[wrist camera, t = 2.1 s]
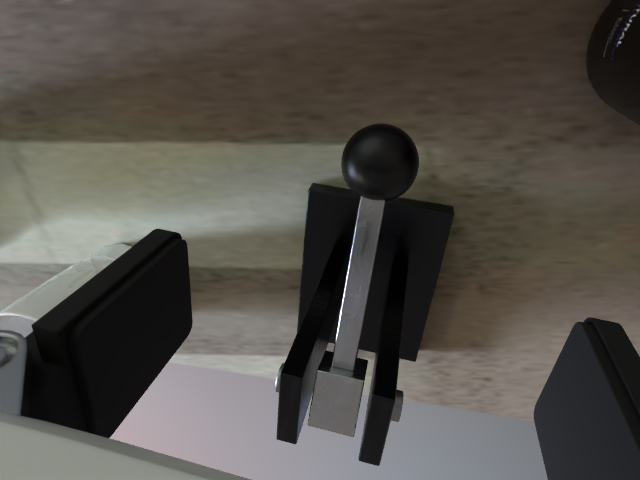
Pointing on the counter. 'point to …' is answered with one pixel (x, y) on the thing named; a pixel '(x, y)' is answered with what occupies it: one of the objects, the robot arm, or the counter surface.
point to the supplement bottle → (617, 57)
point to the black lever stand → (382, 306)
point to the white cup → (56, 290)
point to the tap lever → (360, 267)
